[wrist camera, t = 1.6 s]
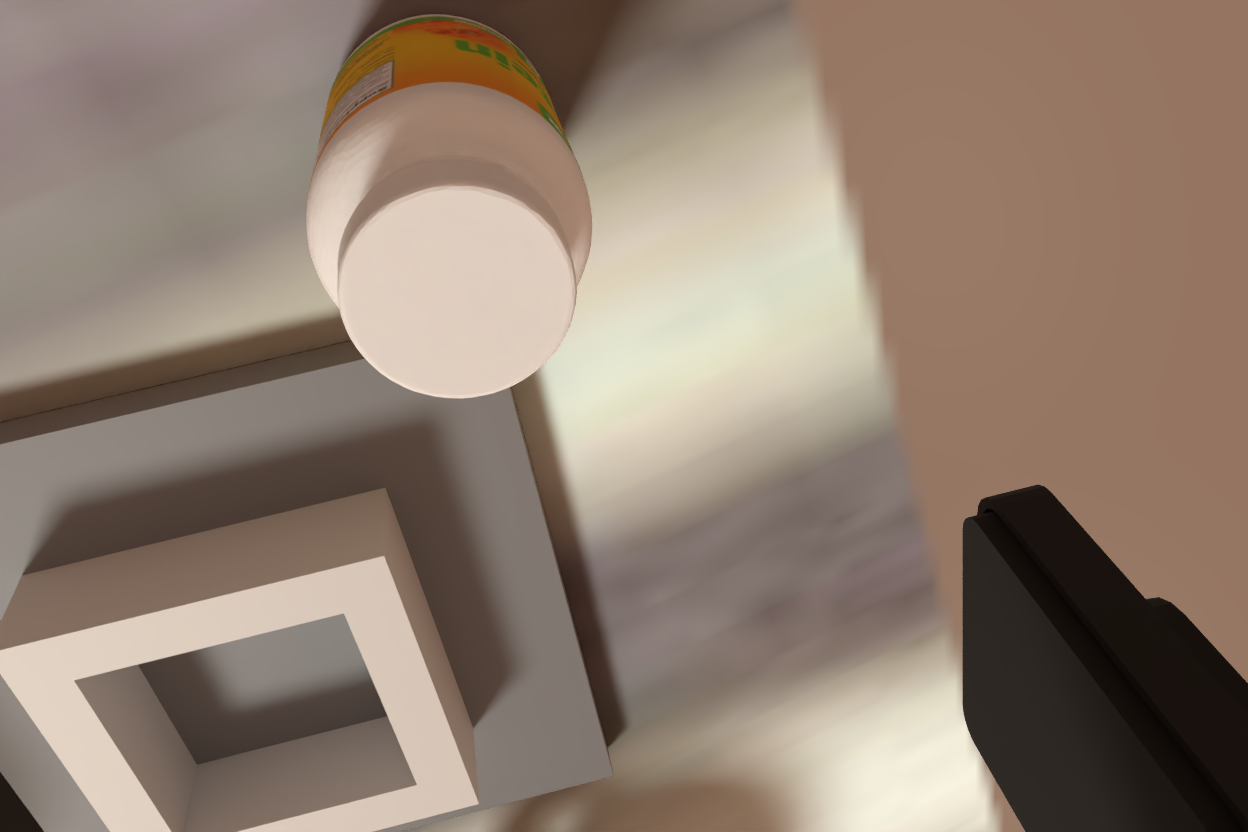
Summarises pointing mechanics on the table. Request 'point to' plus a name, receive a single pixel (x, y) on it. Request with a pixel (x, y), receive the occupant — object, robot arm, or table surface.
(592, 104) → the table surface
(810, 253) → the table surface
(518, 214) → the supplement bottle
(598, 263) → the table surface
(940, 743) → the table surface
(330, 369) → the collar board
